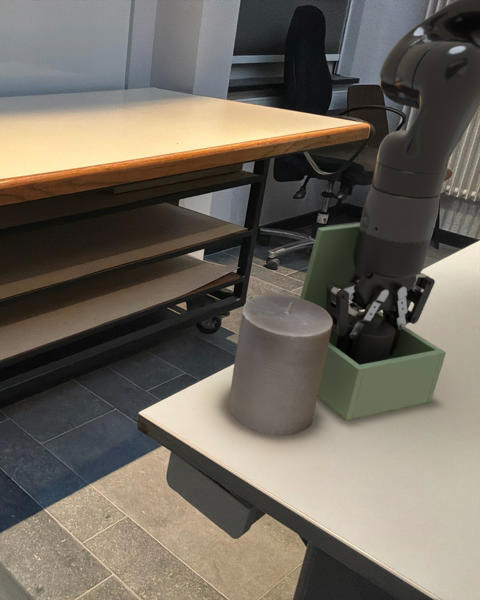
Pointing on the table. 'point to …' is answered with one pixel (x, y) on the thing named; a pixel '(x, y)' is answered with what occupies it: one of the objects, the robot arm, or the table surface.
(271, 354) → the pillar candle
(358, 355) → the dark grey cylinder
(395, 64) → the robot arm
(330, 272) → the lid
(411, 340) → the bread box
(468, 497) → the table surface
